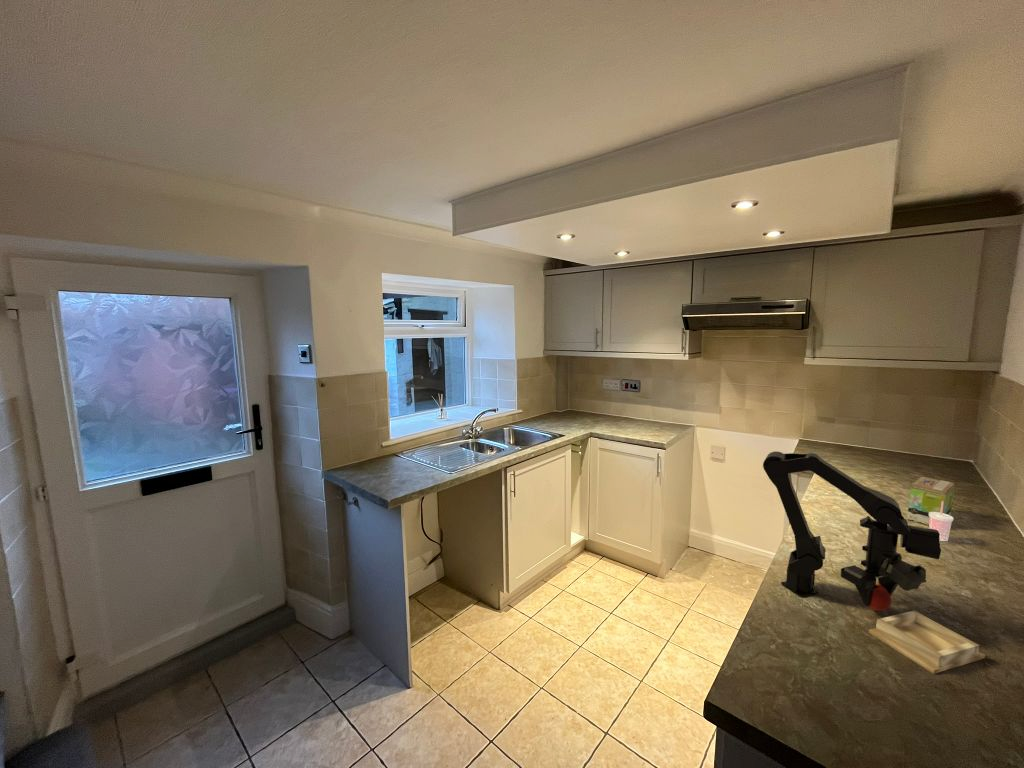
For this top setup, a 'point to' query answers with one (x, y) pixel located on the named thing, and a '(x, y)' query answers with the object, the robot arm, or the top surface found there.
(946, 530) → the beverage cup
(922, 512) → the tea box
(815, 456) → the robot arm
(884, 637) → the tray
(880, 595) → the onion
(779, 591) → the top surface
